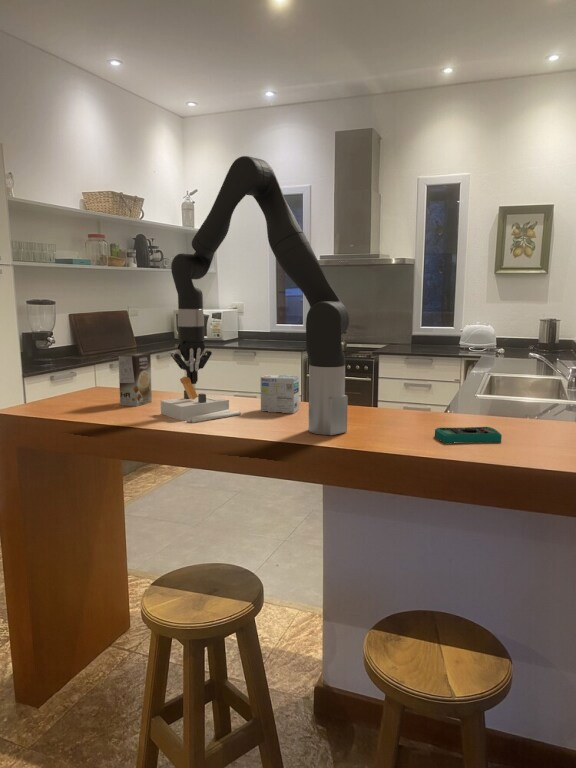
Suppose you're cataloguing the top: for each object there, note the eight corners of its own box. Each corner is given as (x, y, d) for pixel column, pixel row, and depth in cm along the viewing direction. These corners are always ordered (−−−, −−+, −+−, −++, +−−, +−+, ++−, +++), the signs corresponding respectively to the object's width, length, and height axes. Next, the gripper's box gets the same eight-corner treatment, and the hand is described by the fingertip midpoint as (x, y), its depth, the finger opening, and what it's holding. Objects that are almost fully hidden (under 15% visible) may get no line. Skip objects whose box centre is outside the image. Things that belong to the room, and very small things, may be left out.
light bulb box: (299, 409, 175) (299, 375, 173) (294, 414, 168) (294, 378, 167) (266, 407, 177) (266, 373, 176) (260, 412, 171) (259, 376, 169)
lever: (198, 396, 167) (189, 377, 164) (194, 399, 166) (185, 380, 163) (192, 395, 169) (184, 376, 166) (188, 398, 168) (179, 379, 165)
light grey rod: (240, 415, 166) (240, 411, 166) (193, 423, 156) (193, 418, 156) (238, 414, 167) (238, 410, 167) (191, 422, 157) (191, 418, 157)
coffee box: (137, 406, 178) (135, 356, 176) (119, 405, 180) (117, 355, 178) (152, 401, 187) (151, 353, 185) (135, 400, 189) (133, 352, 187)
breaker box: (229, 413, 169) (228, 392, 168) (182, 420, 159) (181, 398, 158) (206, 407, 178) (206, 387, 177) (161, 414, 168) (160, 392, 167)
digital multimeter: (503, 444, 136) (504, 432, 136) (444, 445, 135) (444, 433, 134) (489, 436, 143) (490, 425, 143) (433, 438, 142) (433, 426, 141)
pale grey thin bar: (230, 413, 168) (230, 409, 168) (189, 422, 156) (189, 418, 156) (227, 413, 169) (227, 409, 169) (186, 422, 157) (186, 417, 157)
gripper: (177, 326, 157) (179, 387, 160) (217, 324, 165) (218, 383, 168) (164, 324, 162) (166, 384, 165) (203, 323, 171) (204, 380, 174)
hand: (192, 383), depth 167 cm, fingers closed
